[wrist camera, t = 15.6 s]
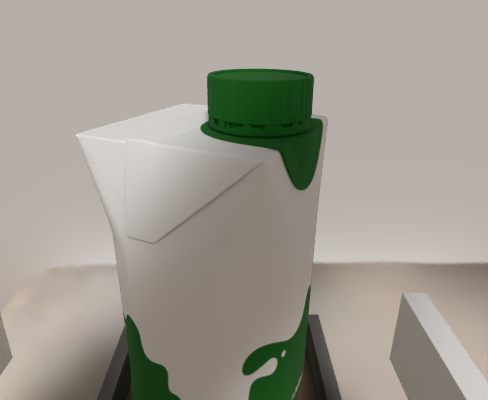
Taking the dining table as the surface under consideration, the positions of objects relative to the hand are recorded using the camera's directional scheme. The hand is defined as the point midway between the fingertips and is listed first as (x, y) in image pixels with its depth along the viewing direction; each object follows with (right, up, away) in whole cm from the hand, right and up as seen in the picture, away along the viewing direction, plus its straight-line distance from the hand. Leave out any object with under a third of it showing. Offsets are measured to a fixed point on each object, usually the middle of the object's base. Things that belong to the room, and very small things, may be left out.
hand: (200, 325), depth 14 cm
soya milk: (0, -9, +11) cm, 14 cm away
